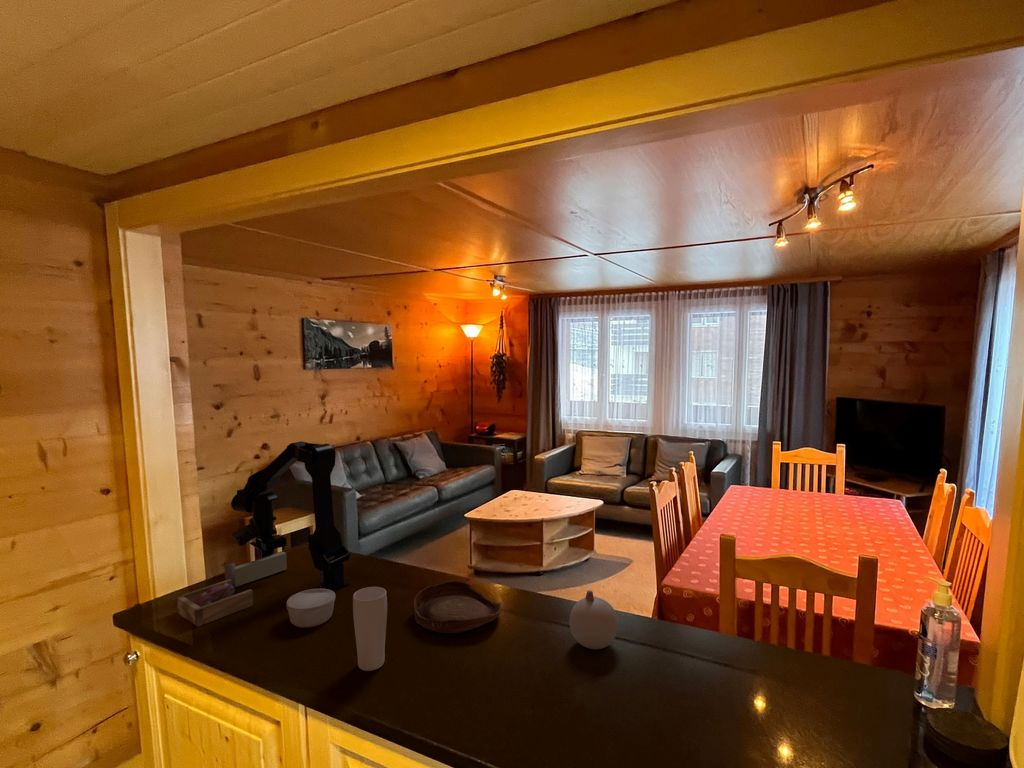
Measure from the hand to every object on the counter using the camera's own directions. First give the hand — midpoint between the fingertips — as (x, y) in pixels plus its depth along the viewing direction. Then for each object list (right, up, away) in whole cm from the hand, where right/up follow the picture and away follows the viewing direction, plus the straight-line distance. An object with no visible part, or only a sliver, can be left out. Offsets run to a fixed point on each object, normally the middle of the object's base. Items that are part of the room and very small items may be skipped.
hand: (264, 565), depth 154 cm
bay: (-1, -3, -23) cm, 23 cm away
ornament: (+93, -3, -43) cm, 102 cm away
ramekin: (+26, -3, -29) cm, 39 cm away
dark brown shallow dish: (+62, -3, -30) cm, 68 cm away
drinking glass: (+46, -3, -49) cm, 67 cm away
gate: (+1, -2, -6) cm, 6 cm away
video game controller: (-2, -3, -23) cm, 23 cm away
